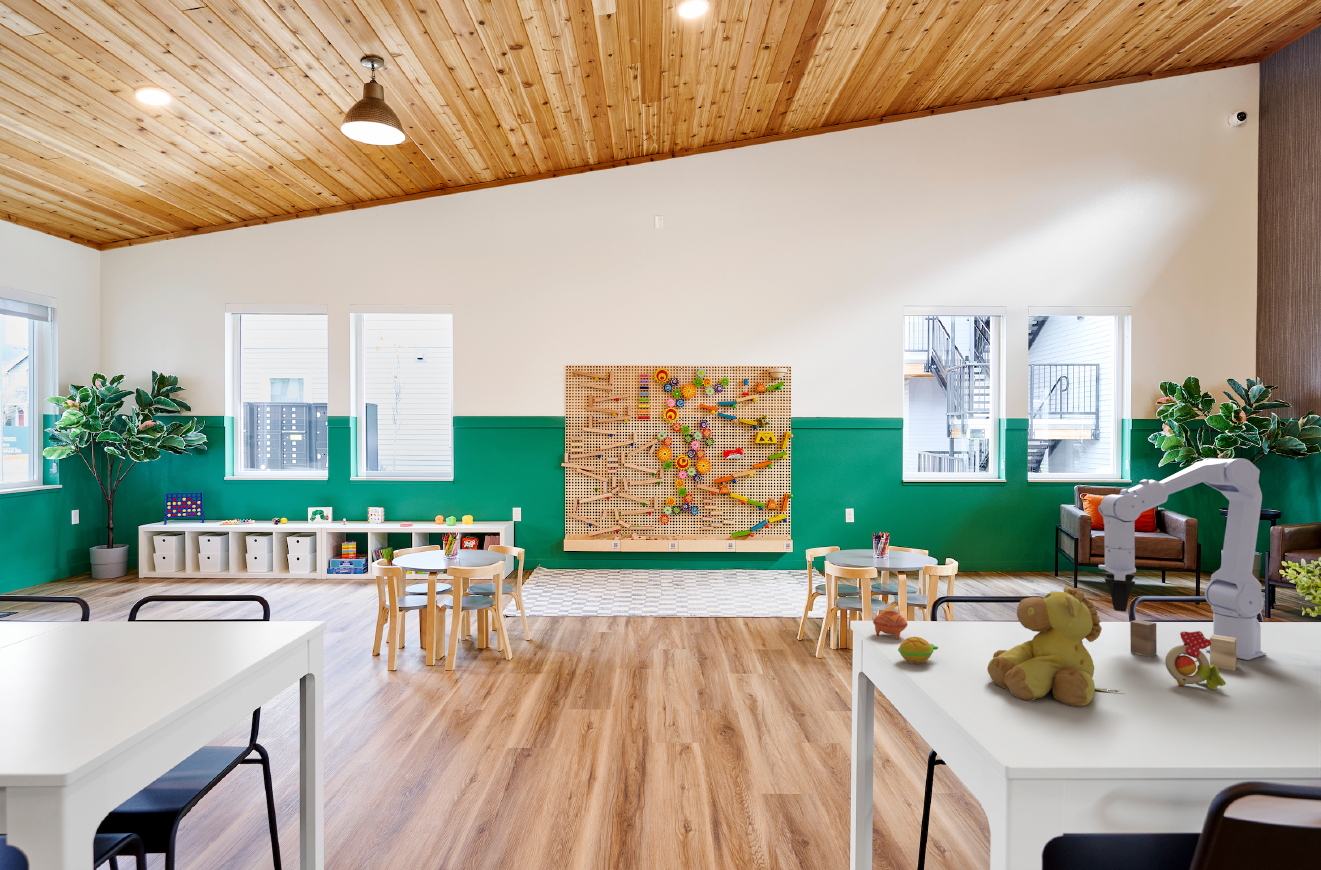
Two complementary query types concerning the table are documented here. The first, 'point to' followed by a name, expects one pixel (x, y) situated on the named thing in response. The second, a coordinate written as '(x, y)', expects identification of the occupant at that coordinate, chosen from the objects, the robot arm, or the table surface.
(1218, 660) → the oak block
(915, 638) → the yellow green oval toy
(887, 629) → the pot
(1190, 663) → the bird rattle
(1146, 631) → the walnut block
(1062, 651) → the giraffe plush
